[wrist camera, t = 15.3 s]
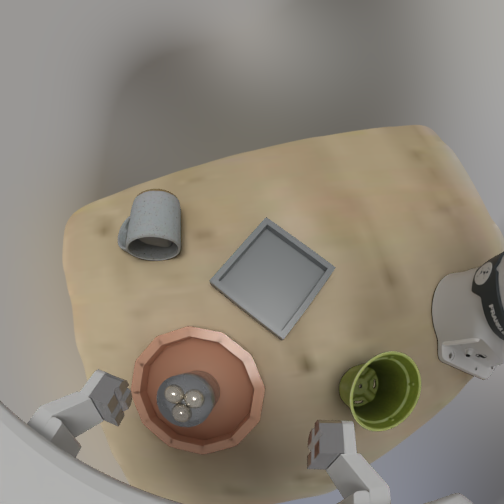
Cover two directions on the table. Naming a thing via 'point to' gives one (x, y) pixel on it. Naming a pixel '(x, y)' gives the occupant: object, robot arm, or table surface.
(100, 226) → the table surface
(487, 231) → the table surface
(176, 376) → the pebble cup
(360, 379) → the plant pot
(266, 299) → the parts tray
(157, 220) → the ceramic mug
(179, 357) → the terracotta bowl
